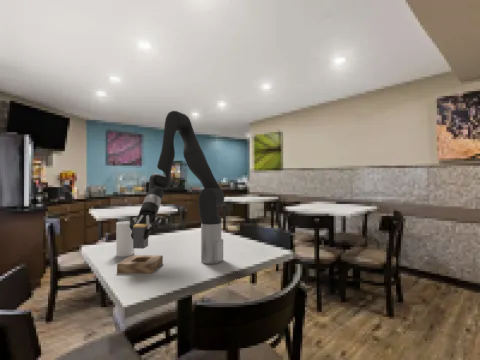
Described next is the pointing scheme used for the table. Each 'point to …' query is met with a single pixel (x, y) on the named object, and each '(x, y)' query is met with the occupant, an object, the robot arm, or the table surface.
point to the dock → (140, 264)
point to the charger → (139, 236)
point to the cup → (124, 239)
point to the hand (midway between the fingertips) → (138, 238)
